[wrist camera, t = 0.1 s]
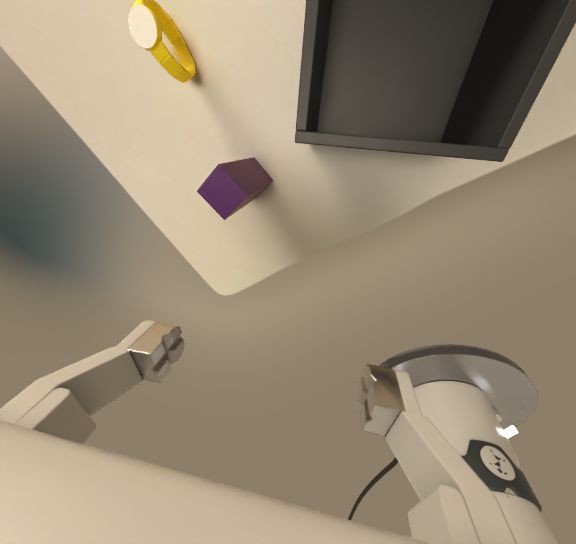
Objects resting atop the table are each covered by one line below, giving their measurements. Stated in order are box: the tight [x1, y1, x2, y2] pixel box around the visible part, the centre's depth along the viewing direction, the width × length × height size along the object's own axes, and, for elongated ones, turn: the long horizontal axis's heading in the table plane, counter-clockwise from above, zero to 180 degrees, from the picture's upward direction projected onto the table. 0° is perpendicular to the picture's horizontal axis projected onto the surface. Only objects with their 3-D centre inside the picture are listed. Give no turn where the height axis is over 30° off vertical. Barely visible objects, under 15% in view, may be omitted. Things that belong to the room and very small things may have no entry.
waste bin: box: [295, 0, 576, 162], centre depth 17 cm, size 15×15×11 cm
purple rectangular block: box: [197, 158, 273, 220], centre depth 25 cm, size 4×4×10 cm
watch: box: [128, 0, 196, 83], centre depth 22 cm, size 6×3×6 cm, turn 25°
